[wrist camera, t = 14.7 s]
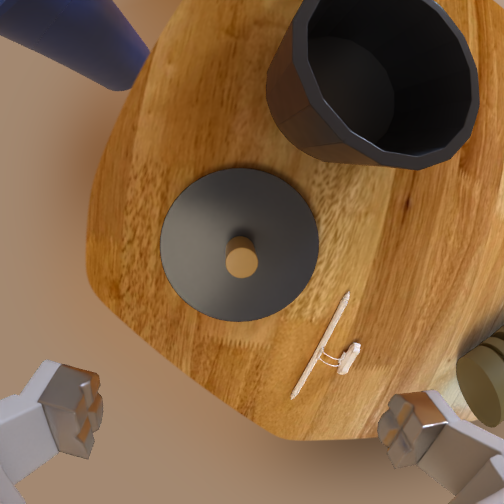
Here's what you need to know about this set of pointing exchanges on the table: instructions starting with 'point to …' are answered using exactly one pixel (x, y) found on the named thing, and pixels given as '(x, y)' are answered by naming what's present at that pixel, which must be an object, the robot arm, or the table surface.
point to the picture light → (344, 360)
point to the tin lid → (239, 244)
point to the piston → (484, 379)
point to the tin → (374, 83)
